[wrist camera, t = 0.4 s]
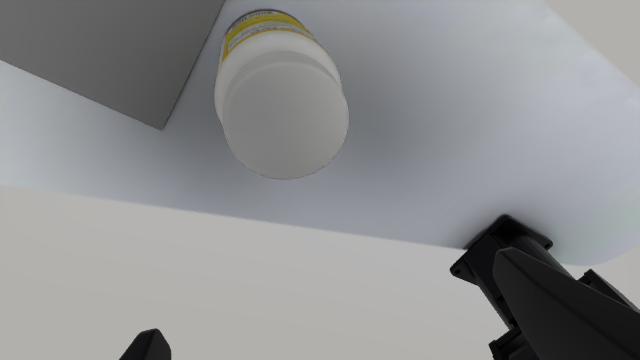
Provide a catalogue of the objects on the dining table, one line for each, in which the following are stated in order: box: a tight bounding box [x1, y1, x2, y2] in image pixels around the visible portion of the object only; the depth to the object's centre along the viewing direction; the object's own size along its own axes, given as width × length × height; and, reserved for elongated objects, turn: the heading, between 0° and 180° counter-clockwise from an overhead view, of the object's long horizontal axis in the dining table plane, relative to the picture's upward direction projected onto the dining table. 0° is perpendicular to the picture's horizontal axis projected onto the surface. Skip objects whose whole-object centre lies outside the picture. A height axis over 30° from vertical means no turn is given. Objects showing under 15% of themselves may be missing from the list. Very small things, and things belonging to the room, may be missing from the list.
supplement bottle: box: [214, 9, 349, 179], centre depth 15 cm, size 5×5×8 cm
